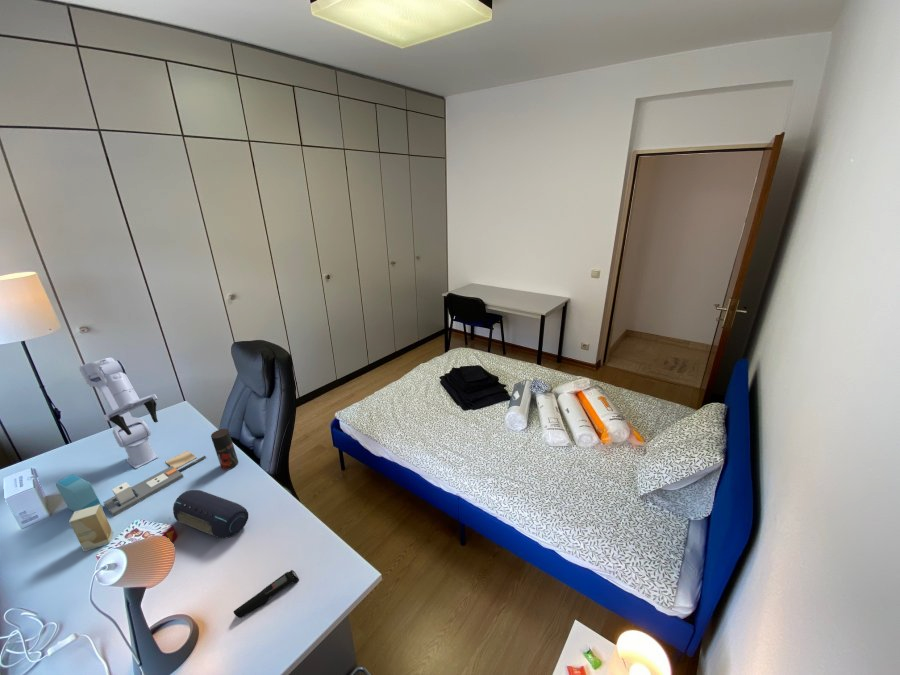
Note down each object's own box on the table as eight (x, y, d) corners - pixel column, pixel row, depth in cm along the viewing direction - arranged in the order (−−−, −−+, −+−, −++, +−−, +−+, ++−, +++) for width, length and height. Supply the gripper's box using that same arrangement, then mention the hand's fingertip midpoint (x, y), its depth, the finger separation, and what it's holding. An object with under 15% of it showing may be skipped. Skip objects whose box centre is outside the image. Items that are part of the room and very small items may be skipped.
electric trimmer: (234, 613, 92) (231, 605, 91) (294, 571, 102) (292, 564, 101) (238, 625, 90) (235, 617, 88) (300, 581, 99) (297, 573, 98)
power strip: (104, 505, 126) (102, 500, 125) (200, 453, 150) (198, 449, 149) (114, 516, 121) (111, 511, 121) (211, 461, 145) (209, 457, 145)
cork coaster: (165, 462, 145) (165, 461, 145) (187, 451, 152) (187, 450, 152) (174, 469, 141) (174, 469, 141) (196, 457, 148) (196, 457, 147)
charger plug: (118, 502, 127) (111, 489, 125) (132, 494, 130) (126, 481, 128) (122, 507, 125) (115, 493, 123) (136, 499, 128) (130, 486, 126)
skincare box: (83, 552, 109) (66, 522, 105) (89, 541, 113) (72, 511, 108) (111, 543, 112) (95, 513, 107) (115, 532, 115) (100, 503, 111)
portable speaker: (172, 526, 117) (162, 502, 113) (201, 502, 126) (192, 480, 122) (228, 549, 109) (219, 525, 105) (255, 522, 117) (248, 499, 114)
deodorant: (241, 459, 146) (232, 429, 140) (232, 470, 140) (221, 438, 135) (228, 459, 146) (218, 428, 141) (217, 469, 141) (207, 438, 135)
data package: (104, 509, 124) (90, 482, 120) (87, 519, 120) (72, 492, 116) (85, 499, 129) (71, 472, 124) (68, 508, 125) (53, 481, 120)
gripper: (92, 402, 117) (112, 439, 116) (145, 381, 124) (164, 415, 123) (101, 406, 123) (120, 440, 122) (151, 385, 130) (169, 417, 129)
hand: (143, 428), depth 123 cm, fingers open, 7 cm apart
